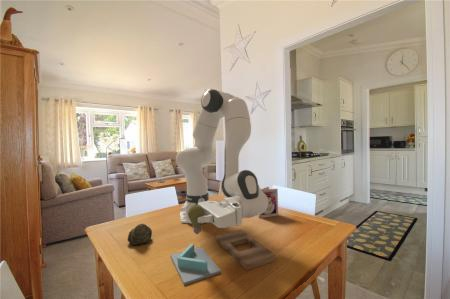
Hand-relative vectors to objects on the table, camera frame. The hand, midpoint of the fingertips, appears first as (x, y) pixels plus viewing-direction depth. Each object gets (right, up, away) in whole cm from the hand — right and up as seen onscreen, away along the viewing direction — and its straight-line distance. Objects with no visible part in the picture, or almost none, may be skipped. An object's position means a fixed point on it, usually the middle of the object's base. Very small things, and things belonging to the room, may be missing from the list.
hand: (193, 216), depth 74 cm
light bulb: (+1, -6, +1) cm, 6 cm away
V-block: (0, -17, 0) cm, 17 cm away
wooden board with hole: (+18, -16, +9) cm, 25 cm away
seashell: (-26, -17, +21) cm, 37 cm away
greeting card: (+34, -14, +47) cm, 59 cm away
